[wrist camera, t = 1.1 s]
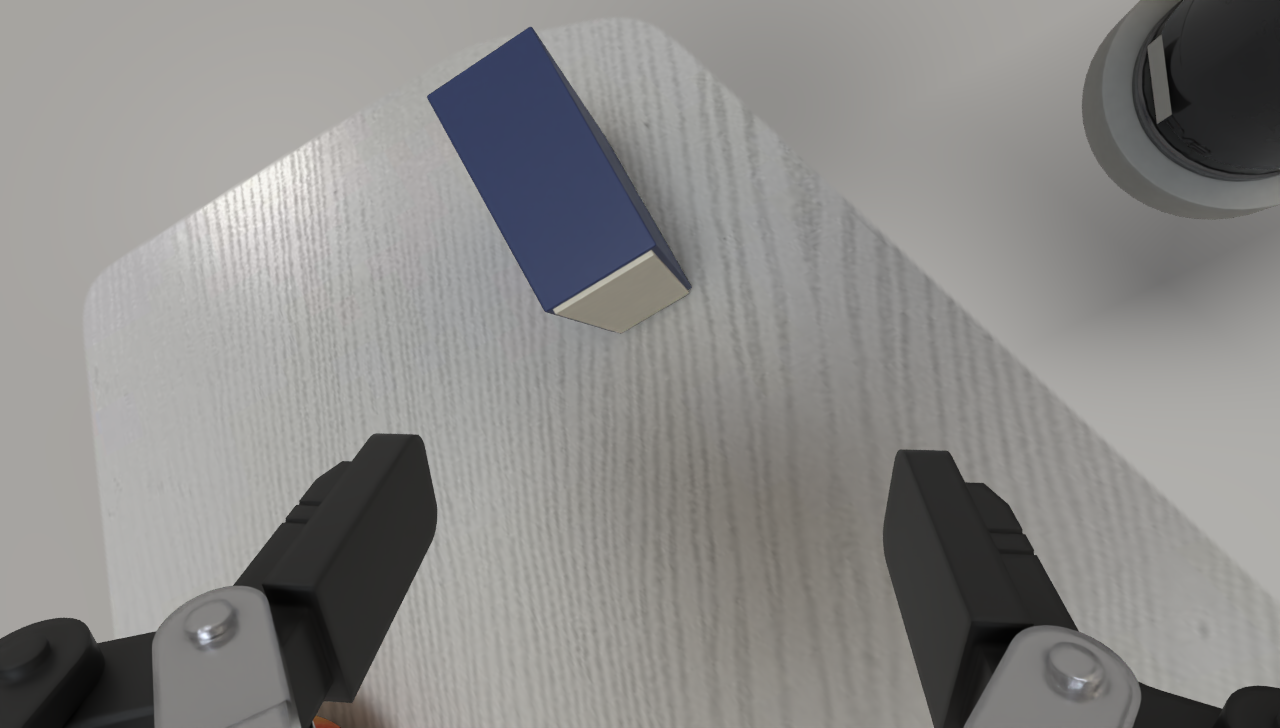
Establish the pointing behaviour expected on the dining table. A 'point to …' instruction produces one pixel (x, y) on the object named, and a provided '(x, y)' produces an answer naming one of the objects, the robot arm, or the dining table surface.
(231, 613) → the robot arm
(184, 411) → the dining table surface
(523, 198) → the navy rectangular block
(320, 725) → the apple
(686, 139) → the dining table surface
